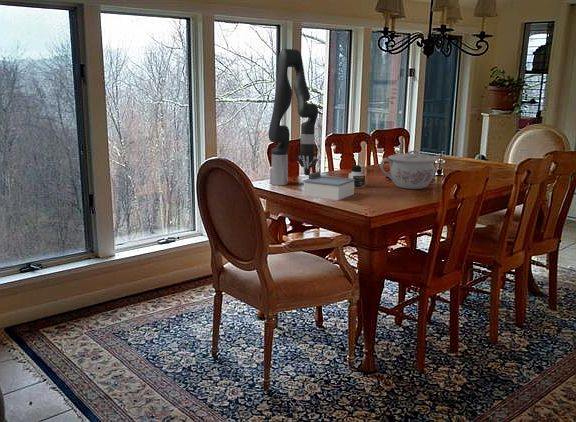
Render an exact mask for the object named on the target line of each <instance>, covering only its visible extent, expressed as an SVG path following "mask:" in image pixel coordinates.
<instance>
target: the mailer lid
mask: <svg viewBox="0 0 576 422" xmlns="http://www.w3.org/2000/svg"><path fill="white" fill-rule="evenodd" d="M352 181H355V179H351V178H349V177H340V176H330V175H323V174H321V171H316V172H311V173H310V174H309V175H308V178H306V179H303V180H302V182H303V183H304V182H309V183H318V184H326V185H334V186H341V185H343V184H346V183H349V182H352Z"/></svg>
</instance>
